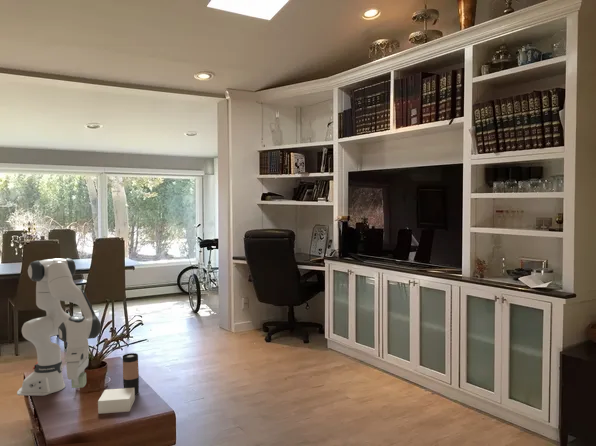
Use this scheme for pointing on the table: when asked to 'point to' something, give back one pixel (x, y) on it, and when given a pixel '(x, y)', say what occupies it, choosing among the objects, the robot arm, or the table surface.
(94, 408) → the table surface
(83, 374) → the sage cube
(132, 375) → the travel mug
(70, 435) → the table surface
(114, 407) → the box
